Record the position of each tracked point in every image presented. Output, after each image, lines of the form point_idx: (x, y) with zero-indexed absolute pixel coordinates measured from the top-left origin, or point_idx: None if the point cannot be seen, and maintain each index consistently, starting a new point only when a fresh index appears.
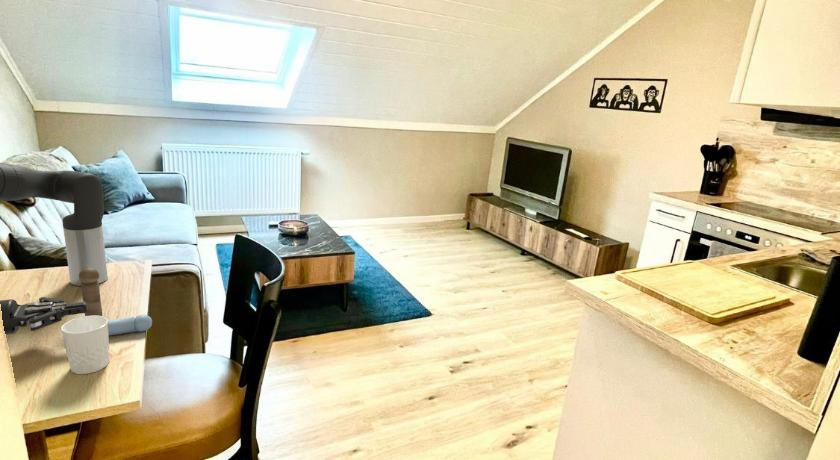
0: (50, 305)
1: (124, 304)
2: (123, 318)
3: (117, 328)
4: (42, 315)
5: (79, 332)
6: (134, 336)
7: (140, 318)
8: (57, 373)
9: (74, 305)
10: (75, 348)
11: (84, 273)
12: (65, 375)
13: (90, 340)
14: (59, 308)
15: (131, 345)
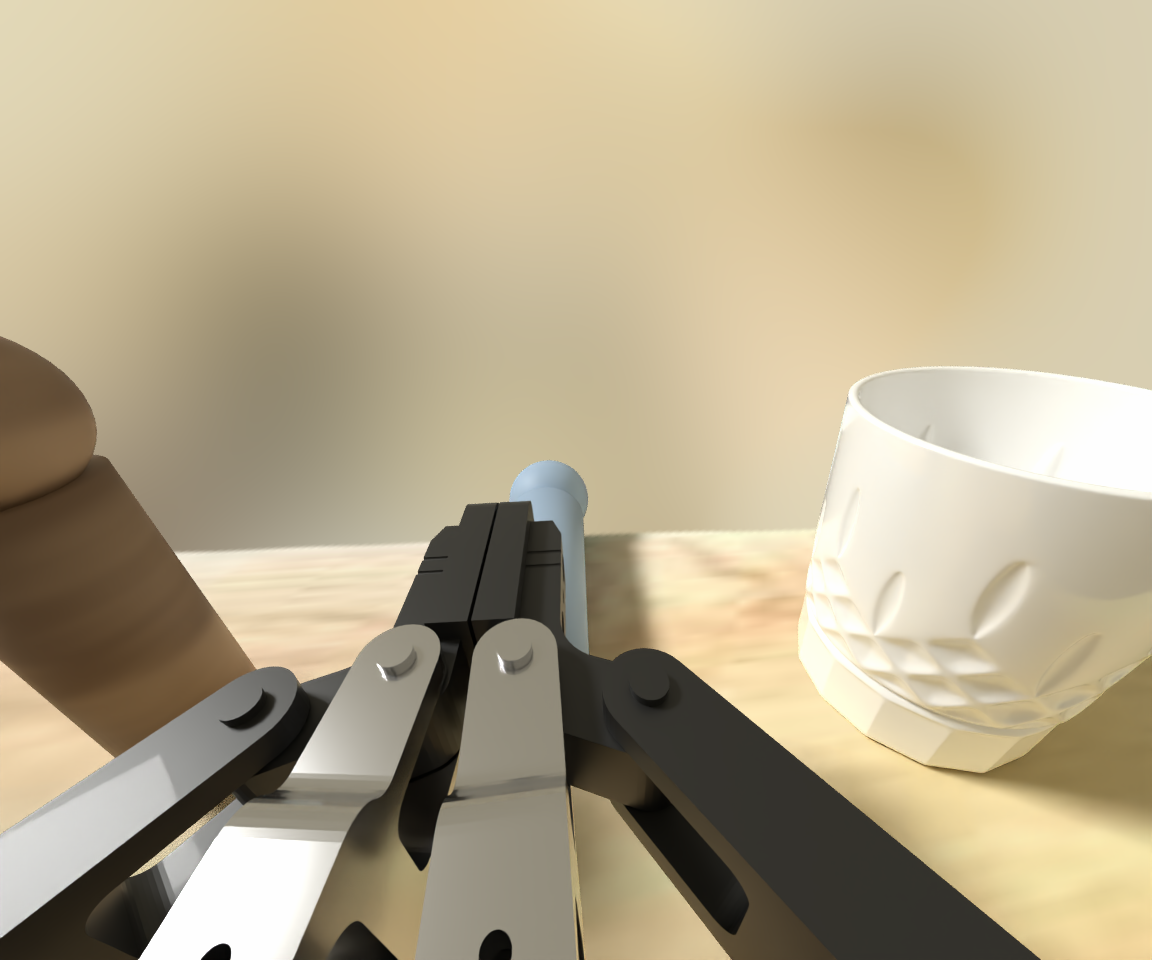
0: (362, 844)
1: None
2: None
3: (582, 555)
4: (892, 942)
5: (905, 567)
6: (601, 546)
7: (564, 471)
8: (1083, 869)
9: (516, 554)
10: None
11: None
12: (1077, 797)
13: (1098, 460)
14: (556, 676)
15: (684, 548)
